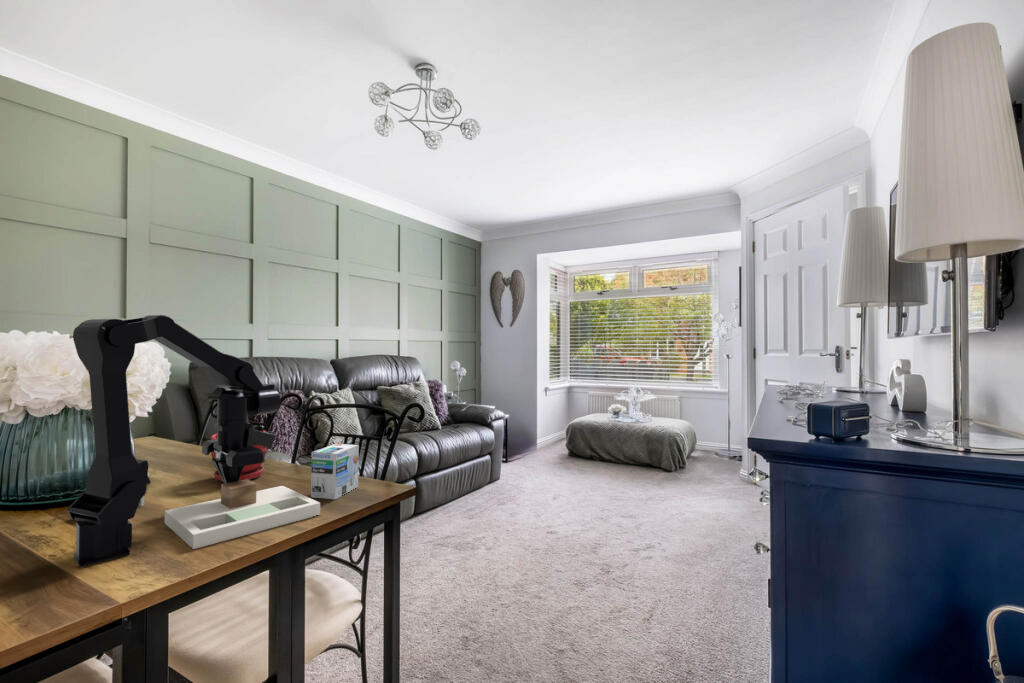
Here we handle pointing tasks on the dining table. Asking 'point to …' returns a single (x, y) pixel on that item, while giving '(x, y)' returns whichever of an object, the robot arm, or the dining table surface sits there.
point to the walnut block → (238, 493)
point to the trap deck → (239, 516)
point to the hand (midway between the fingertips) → (231, 491)
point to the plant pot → (248, 470)
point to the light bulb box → (334, 471)
